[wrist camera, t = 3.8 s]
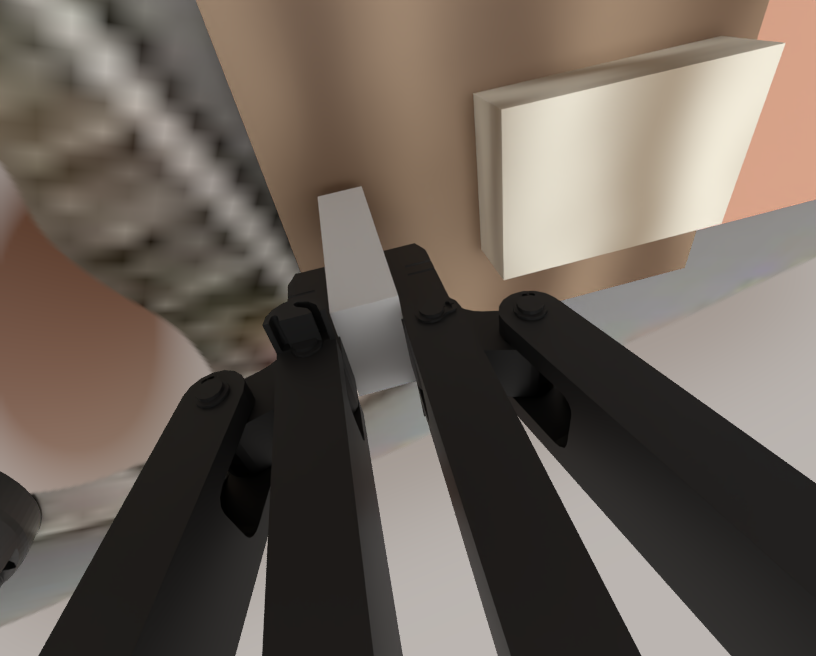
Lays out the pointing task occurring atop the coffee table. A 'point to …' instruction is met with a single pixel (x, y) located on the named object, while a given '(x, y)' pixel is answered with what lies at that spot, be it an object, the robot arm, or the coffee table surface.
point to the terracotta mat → (783, 119)
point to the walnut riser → (430, 113)
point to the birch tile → (616, 151)
